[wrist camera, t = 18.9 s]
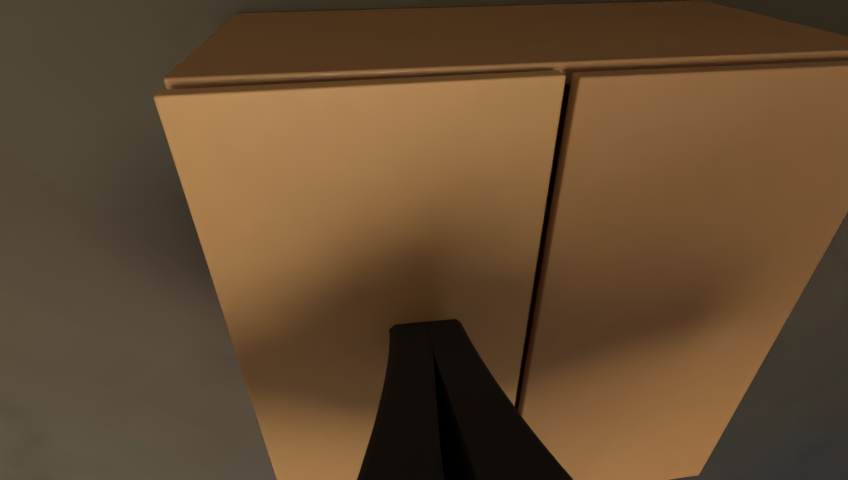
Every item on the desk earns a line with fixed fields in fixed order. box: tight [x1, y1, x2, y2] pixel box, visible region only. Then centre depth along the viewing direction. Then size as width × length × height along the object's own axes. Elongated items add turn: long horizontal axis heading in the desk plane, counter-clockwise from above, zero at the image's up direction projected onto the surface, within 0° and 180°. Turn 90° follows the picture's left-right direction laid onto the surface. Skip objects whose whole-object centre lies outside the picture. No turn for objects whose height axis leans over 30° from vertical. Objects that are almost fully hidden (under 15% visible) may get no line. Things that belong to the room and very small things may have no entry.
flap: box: [154, 70, 566, 480], centre depth 11 cm, size 6×13×1 cm, turn 1°
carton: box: [164, 0, 848, 480], centre depth 14 cm, size 13×13×7 cm
